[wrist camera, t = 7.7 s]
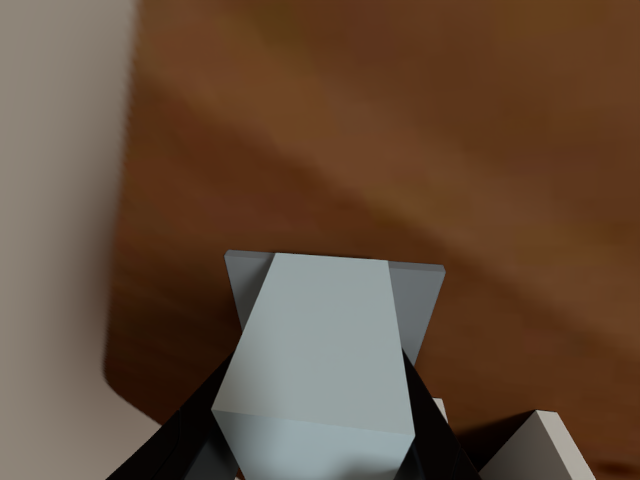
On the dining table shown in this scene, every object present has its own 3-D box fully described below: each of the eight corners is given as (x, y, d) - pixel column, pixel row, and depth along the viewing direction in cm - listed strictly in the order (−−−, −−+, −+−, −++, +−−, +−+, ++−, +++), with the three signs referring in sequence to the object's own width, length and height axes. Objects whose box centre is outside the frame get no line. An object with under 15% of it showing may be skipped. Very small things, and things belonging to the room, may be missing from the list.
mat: (387, 435, 17) (388, 442, 17) (266, 419, 18) (265, 425, 18) (442, 265, 9) (445, 272, 9) (228, 249, 10) (224, 256, 10)
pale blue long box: (354, 440, 17) (353, 562, 13) (296, 432, 18) (278, 549, 13) (387, 260, 9) (416, 442, 5) (275, 252, 9) (208, 415, 5)
